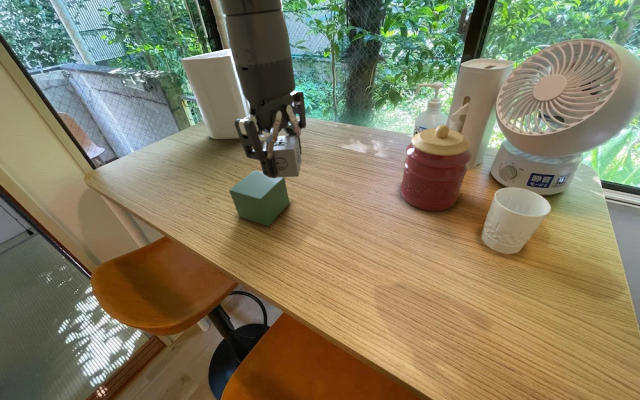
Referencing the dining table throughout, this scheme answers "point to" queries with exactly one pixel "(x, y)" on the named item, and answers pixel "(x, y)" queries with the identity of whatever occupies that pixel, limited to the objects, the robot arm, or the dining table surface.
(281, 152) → the dice cube
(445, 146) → the kitchen canister
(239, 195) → the green block
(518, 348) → the dining table surface
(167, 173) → the dining table surface
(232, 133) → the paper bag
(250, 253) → the dining table surface
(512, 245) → the white cup
